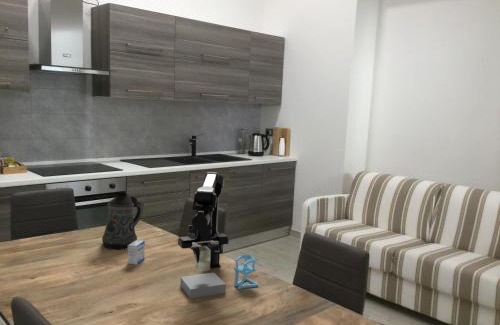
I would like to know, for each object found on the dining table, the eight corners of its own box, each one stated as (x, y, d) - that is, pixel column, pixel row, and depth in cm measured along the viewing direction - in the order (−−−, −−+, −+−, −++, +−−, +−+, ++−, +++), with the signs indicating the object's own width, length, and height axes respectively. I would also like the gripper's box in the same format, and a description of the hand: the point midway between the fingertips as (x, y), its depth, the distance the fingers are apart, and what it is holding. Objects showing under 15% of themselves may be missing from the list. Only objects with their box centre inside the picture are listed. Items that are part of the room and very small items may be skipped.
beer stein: (94, 247, 211) (94, 196, 207) (118, 235, 229) (118, 188, 226) (125, 252, 206) (125, 200, 203) (146, 240, 225) (147, 192, 221)
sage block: (205, 265, 172) (206, 245, 171) (209, 270, 168) (210, 250, 167) (195, 266, 171) (196, 246, 169) (199, 271, 166) (200, 251, 165)
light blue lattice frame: (230, 284, 176) (231, 255, 175) (246, 279, 182) (247, 251, 180) (242, 291, 170) (243, 261, 169) (258, 286, 176) (259, 257, 174)
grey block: (213, 281, 179) (213, 272, 178) (225, 293, 168) (225, 283, 168) (180, 286, 173) (180, 277, 172) (190, 299, 162) (190, 289, 162)
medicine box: (136, 265, 191) (137, 246, 190) (127, 264, 192) (127, 244, 191) (144, 258, 199) (145, 240, 198) (135, 257, 200) (135, 239, 199)
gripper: (219, 215, 178) (218, 252, 180) (174, 218, 170) (173, 257, 172) (230, 223, 168) (228, 262, 170) (182, 227, 160) (181, 267, 162)
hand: (202, 262), depth 169 cm, fingers closed on sage block, 4 cm apart
